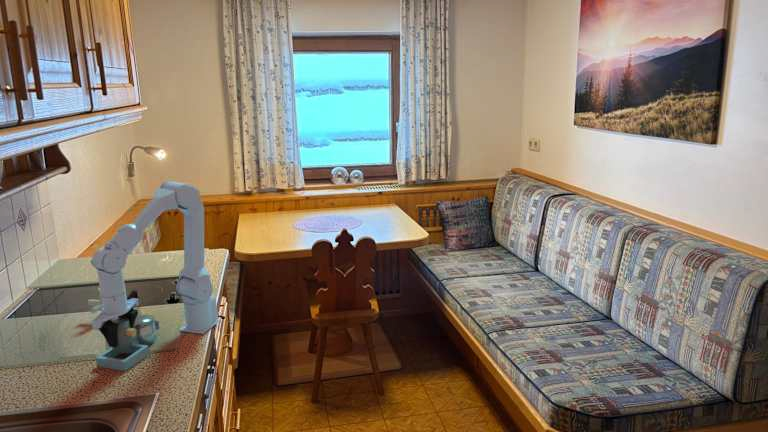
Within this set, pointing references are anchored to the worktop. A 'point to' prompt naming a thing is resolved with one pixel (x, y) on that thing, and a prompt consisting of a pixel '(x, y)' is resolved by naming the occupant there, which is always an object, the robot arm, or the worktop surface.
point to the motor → (145, 330)
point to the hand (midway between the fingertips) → (120, 341)
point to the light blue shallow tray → (111, 362)
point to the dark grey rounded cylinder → (123, 336)
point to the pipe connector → (96, 303)
